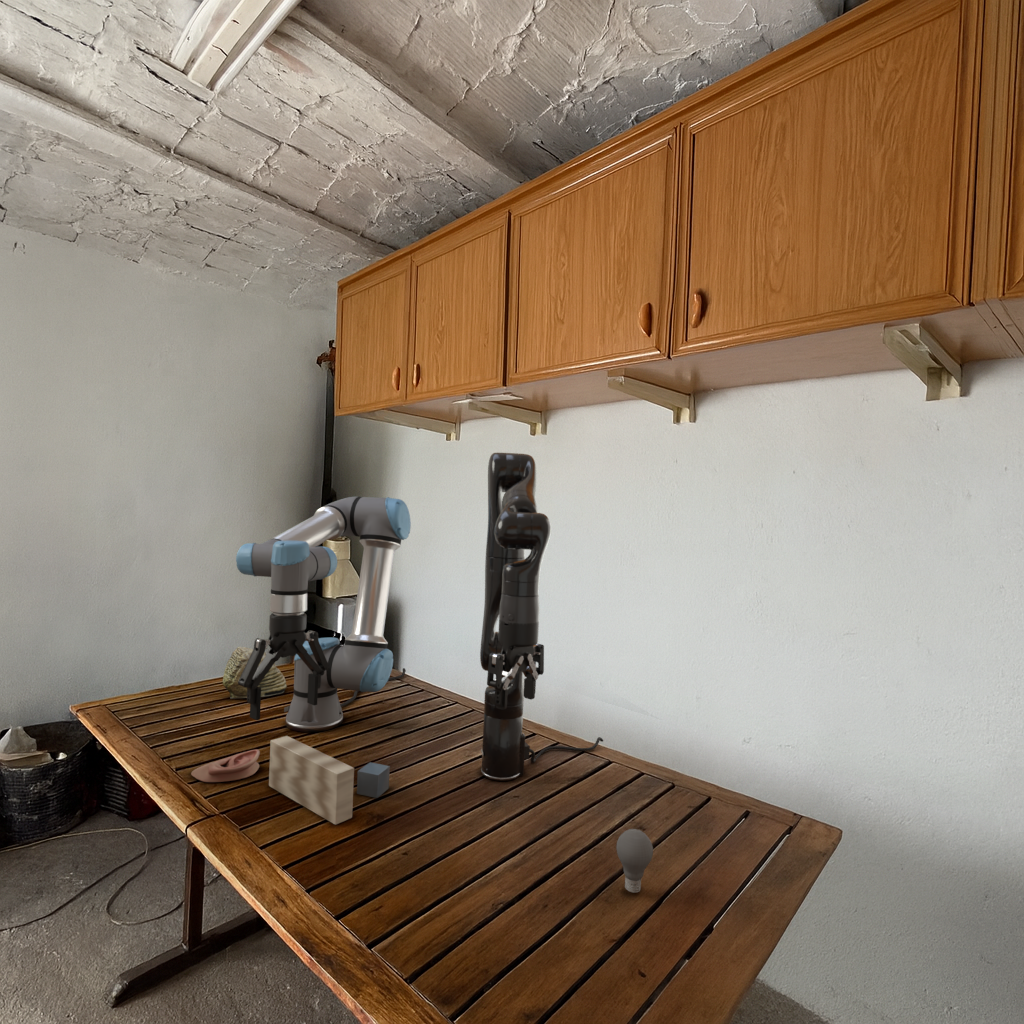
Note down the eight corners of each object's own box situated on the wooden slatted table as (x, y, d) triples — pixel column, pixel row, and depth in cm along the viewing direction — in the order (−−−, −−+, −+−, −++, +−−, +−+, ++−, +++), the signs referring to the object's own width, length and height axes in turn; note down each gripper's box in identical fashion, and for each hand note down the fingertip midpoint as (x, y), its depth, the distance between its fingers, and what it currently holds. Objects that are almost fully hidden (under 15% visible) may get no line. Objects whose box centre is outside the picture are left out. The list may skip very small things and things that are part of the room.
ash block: (268, 786, 138) (270, 740, 137) (285, 780, 141) (286, 735, 141) (335, 825, 123) (337, 774, 122) (352, 817, 126) (354, 767, 126)
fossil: (218, 695, 195) (220, 647, 195) (278, 685, 208) (279, 640, 207) (228, 703, 189) (230, 653, 188) (289, 692, 201) (290, 645, 201)
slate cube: (369, 784, 140) (370, 762, 140) (389, 788, 139) (389, 766, 139) (356, 794, 136) (357, 770, 136) (377, 798, 134) (378, 775, 134)
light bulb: (610, 879, 108) (613, 822, 108) (644, 879, 109) (647, 822, 109) (619, 902, 102) (622, 840, 102) (655, 901, 103) (658, 840, 103)
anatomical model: (182, 760, 139) (216, 741, 150) (181, 778, 139) (216, 758, 150) (236, 768, 136) (267, 748, 147) (235, 786, 136) (266, 765, 147)
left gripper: (327, 604, 148) (324, 694, 149) (222, 616, 129) (219, 720, 129) (347, 609, 143) (343, 702, 144) (241, 622, 124) (237, 729, 124)
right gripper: (526, 611, 127) (522, 691, 127) (479, 619, 116) (475, 707, 116) (557, 616, 122) (553, 699, 123) (510, 626, 111) (506, 717, 112)
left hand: (284, 710), depth 136 cm, fingers open, 13 cm apart
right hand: (515, 703), depth 120 cm, fingers open, 8 cm apart
